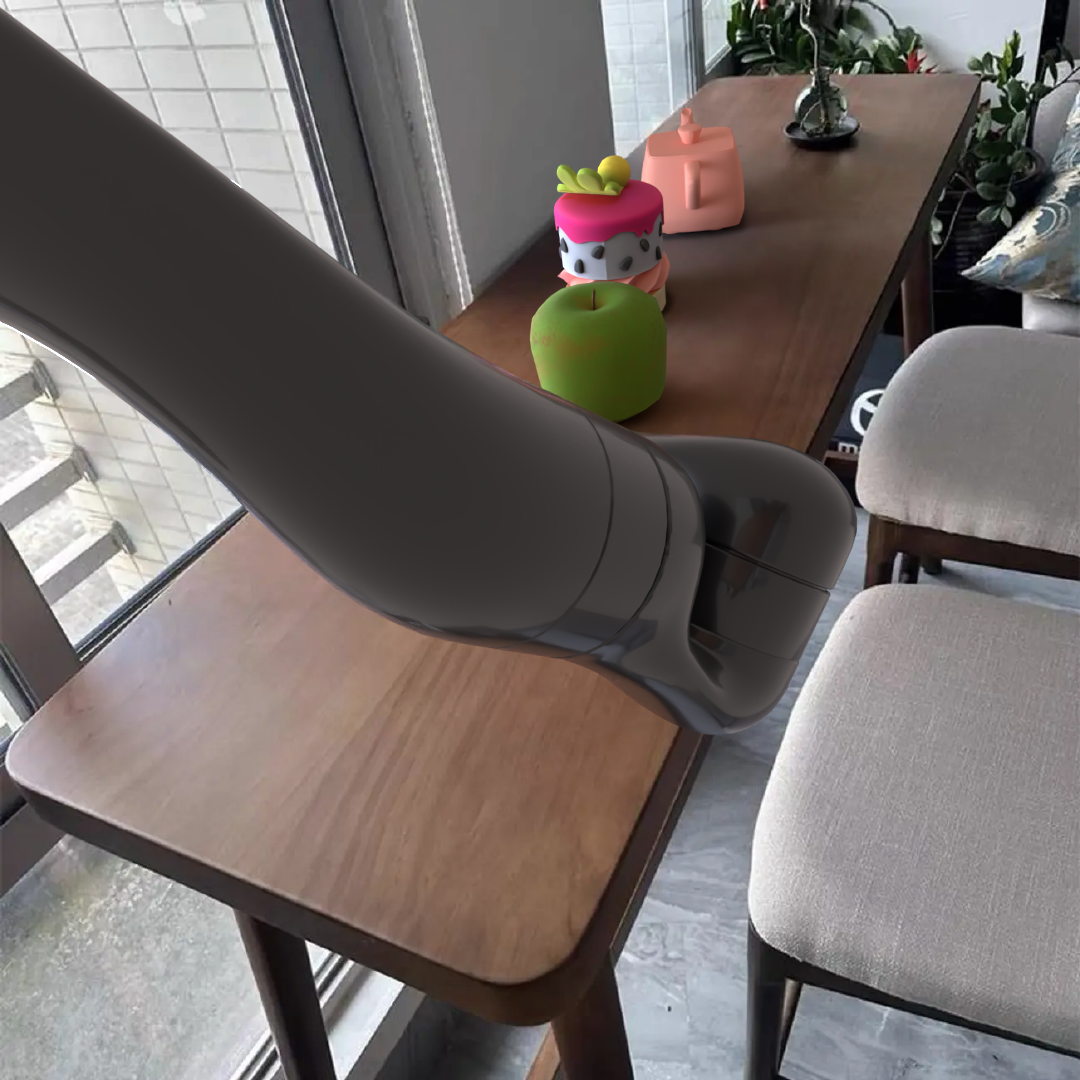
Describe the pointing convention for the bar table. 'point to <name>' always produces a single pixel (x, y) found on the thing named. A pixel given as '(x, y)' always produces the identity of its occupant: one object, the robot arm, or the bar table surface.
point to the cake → (611, 228)
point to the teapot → (695, 176)
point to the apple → (601, 348)
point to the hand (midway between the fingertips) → (231, 345)
